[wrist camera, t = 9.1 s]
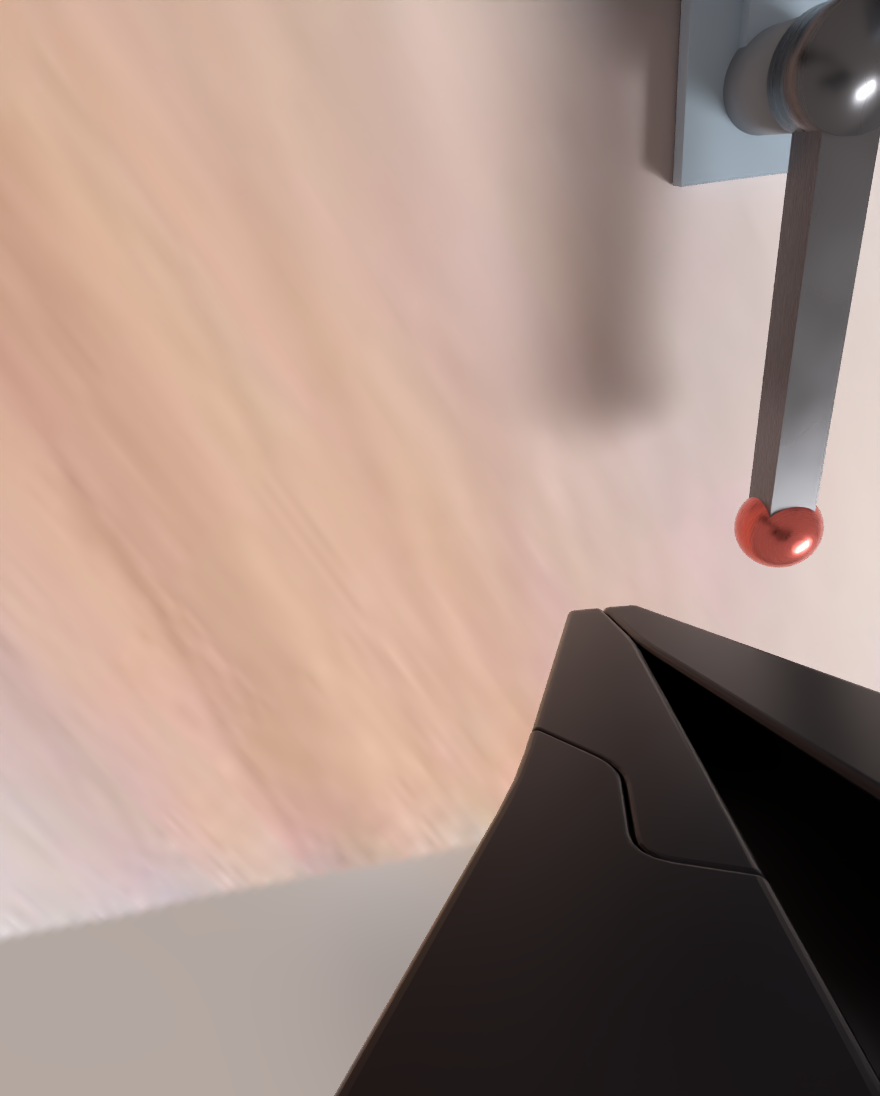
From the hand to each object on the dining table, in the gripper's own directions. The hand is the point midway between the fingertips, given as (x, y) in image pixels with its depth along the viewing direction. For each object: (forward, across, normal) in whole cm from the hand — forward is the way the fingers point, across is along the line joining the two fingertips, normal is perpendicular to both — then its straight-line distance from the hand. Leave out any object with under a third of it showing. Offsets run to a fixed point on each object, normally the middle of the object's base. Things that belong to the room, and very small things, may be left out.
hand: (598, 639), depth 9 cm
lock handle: (+11, +7, +1) cm, 13 cm away
